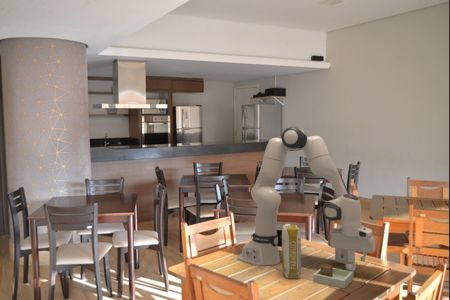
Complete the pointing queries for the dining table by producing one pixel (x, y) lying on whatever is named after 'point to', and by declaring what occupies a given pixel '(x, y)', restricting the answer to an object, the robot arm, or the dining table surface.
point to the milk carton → (348, 254)
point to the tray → (334, 278)
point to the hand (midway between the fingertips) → (352, 259)
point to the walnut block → (327, 270)
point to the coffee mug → (279, 235)
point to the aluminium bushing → (351, 267)
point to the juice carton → (291, 251)
